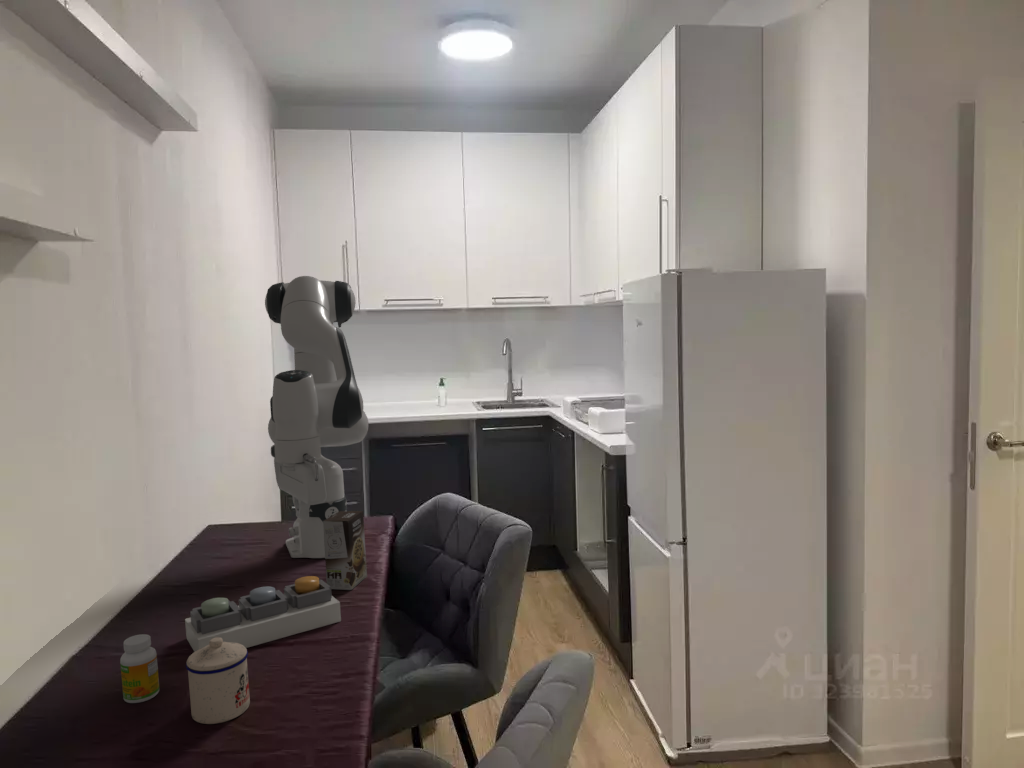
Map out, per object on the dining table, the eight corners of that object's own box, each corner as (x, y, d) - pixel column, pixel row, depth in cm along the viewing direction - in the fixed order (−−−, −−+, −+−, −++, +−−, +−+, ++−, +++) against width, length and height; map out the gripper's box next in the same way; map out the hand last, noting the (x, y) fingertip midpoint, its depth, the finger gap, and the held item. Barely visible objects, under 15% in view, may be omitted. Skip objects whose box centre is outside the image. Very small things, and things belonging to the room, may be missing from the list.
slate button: (247, 600, 145) (246, 590, 144) (271, 594, 147) (271, 584, 147) (254, 607, 141) (253, 597, 140) (278, 601, 143) (278, 591, 143)
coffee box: (352, 590, 164) (348, 521, 162) (326, 589, 165) (321, 520, 164) (368, 576, 173) (364, 510, 171) (343, 575, 174) (339, 509, 173)
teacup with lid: (250, 719, 112) (244, 646, 111) (186, 731, 109) (180, 656, 108) (254, 682, 123) (249, 616, 122) (196, 692, 121) (190, 625, 119)
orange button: (292, 589, 150) (291, 579, 149) (314, 583, 152) (314, 574, 152) (299, 595, 146) (299, 586, 146) (322, 590, 148) (322, 580, 148)
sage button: (199, 611, 139) (198, 601, 139) (225, 605, 142) (224, 595, 142) (205, 619, 136) (204, 609, 135) (231, 613, 138) (231, 603, 138)
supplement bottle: (116, 703, 118) (110, 646, 117) (137, 686, 123) (132, 631, 122) (146, 704, 117) (141, 647, 116) (166, 687, 123) (161, 632, 122)
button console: (186, 638, 142) (184, 606, 141) (320, 603, 157) (318, 574, 156) (199, 660, 132) (197, 627, 131) (341, 621, 147) (339, 590, 147)
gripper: (332, 455, 140) (336, 525, 141) (297, 443, 156) (301, 505, 158) (300, 460, 136) (304, 532, 137) (267, 446, 153) (272, 511, 154)
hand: (302, 517), depth 148 cm, fingers closed
